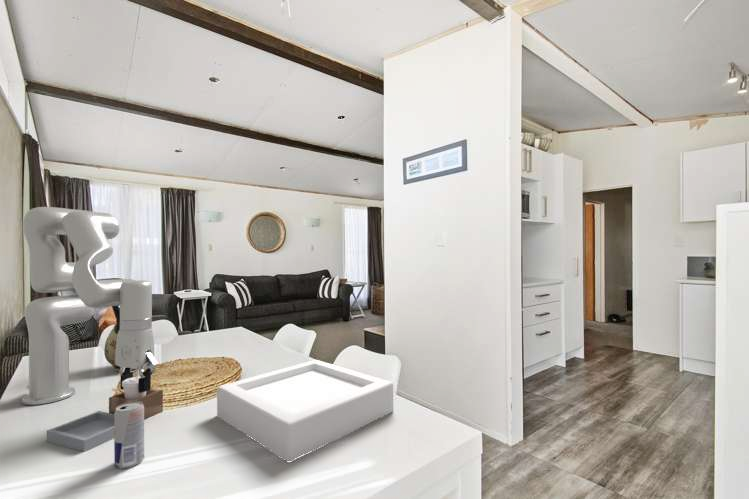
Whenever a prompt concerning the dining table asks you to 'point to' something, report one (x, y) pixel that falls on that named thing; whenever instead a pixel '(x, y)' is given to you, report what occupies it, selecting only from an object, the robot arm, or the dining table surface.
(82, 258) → the robot arm
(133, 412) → the energy drink
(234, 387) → the tray
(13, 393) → the dining table surface
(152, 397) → the deep holder
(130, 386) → the smoothie
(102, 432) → the slate tray
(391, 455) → the dining table surface
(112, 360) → the ceramic jug
